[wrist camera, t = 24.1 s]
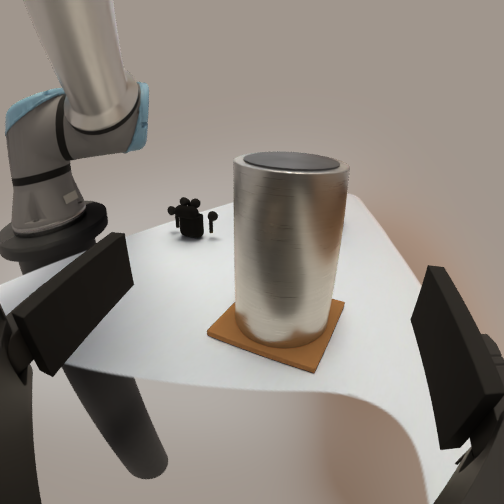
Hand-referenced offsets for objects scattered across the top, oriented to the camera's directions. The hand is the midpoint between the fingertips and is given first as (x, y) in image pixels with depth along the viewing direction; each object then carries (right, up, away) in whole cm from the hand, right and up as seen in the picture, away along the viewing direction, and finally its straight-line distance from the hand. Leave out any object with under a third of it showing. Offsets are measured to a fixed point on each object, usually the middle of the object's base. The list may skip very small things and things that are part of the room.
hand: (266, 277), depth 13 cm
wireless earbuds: (-8, +3, +26) cm, 27 cm away
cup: (+2, -4, +12) cm, 12 cm away
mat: (+2, -4, +12) cm, 13 cm away
